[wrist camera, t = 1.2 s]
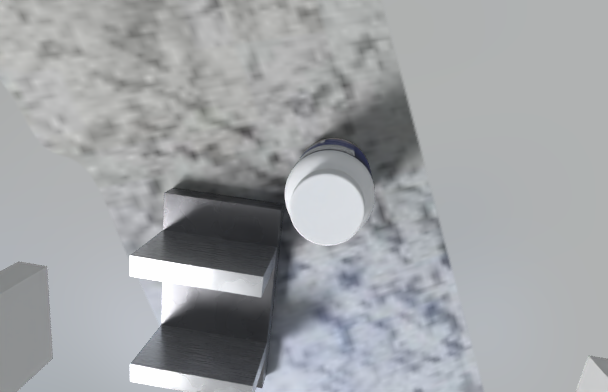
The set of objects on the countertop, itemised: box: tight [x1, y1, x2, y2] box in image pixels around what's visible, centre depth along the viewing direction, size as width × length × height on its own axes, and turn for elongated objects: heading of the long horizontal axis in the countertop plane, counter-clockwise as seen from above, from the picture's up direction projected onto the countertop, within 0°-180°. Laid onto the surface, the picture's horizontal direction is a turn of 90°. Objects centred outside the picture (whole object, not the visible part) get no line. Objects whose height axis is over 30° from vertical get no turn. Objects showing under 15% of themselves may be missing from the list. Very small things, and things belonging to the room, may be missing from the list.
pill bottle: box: [285, 138, 375, 246], centre depth 26 cm, size 5×5×10 cm
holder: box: [130, 188, 284, 392], centre depth 31 cm, size 16×9×6 cm, turn 173°
